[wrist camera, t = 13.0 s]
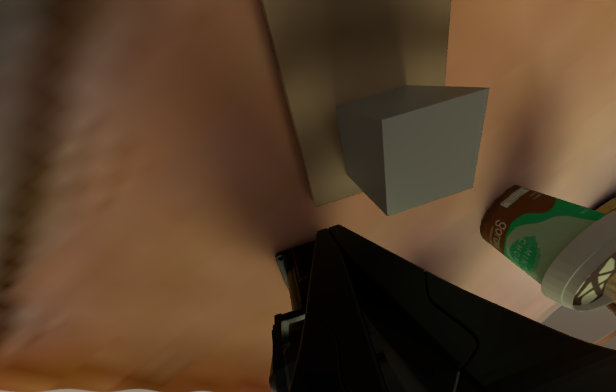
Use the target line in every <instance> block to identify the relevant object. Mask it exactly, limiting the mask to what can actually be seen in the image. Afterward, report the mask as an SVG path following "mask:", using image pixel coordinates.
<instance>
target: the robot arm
mask: <svg viewBox="0 0 616 392" xmlns="http://www.w3.org/2000/svg"><path fill="white" fill-rule="evenodd" d="M275 257H276V261H277V264H278V266H279V268H280V271H281V273H282V275H283V278H284V280H285V282H286V285H287V287H288V289H289V292H290V298H291V304H292V310H293V311H291V312H288V313H284V314H281V313H280V314H277V315H275V324H274V325H273V330H272V340H273V356H272V363H271V370H270V377H269V383H270V388H271V389H272V390H273V391H274V392H616V350H614V349H609V348H605V347H602V346H598V345H595V344H592V343H588V342H585V341H582V340H580V339H577V338H574V337H571V336H569V335H566V334H564V333H562V332H559V331H557V330H555V329H552V328H550V327H548V326H545V325H543V324H541V323H538V322H536V321H534V320H531V319H529V318H527V317H525V316H522V315H520V314H518V313H515V312H513V311H511V310H508V309H506V308H504V307H501V306H499V305H497V304H495V303H492V302H490V301H488V300H485V299H483V298H481V297H479V296H477V295H474V294H472V293H470V292H468V291H466V290H463V289H461V288H459V287H457V286H455V285H453V284H451V283H449V282H447V281H445V280H443V279H441V278H439V277H437V276H436V275H434V274H432V273H430V272H428V271H424V269H422V268H420V267H418V266H416V265H415V264H413V263H411V262H409V261H407V260H405V259H403V258H401V257H399V256H398V255H396V254H394V253H392V252H390V251H388V250H386V249H384V248H383V247H381V246H379V245H377V244H375V243H373V242H371V241H369V240H367V239H366V238H364V237H362V236H360V235H358V234H356V233H354V232H352V231H350V230H349V229H347V228H345V227H343V226H341V225H335V226H332V227H329V229H327V228H326V229H322V230H319V231H317V233H316V240H315V241H312V242H309V243H306V244H303V245H300V246H297V247H294V248H291V249H288V250H285V251H282V252H279V253H277V254H276V256H275ZM279 257H282V258H279Z"/></svg>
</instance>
